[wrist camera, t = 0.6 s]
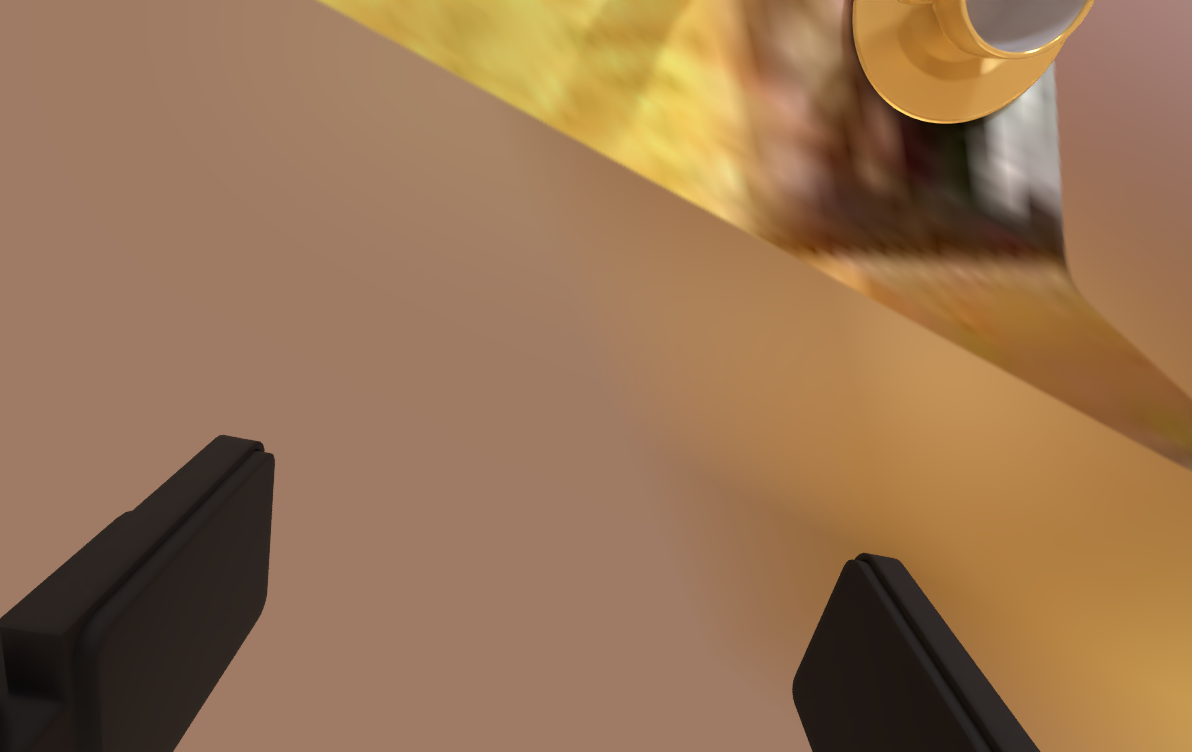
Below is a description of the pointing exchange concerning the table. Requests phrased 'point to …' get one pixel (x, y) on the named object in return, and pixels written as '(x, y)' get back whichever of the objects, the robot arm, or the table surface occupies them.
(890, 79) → the cup
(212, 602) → the robot arm
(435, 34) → the table surface
